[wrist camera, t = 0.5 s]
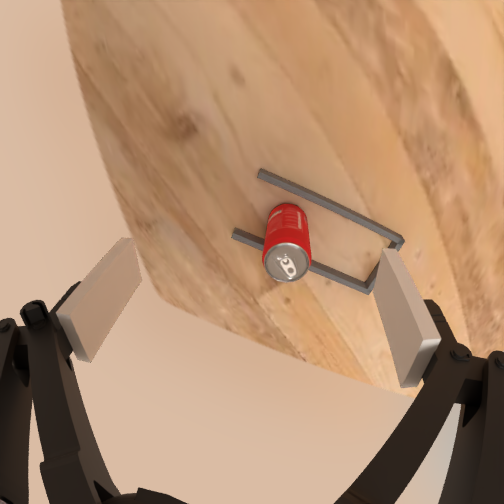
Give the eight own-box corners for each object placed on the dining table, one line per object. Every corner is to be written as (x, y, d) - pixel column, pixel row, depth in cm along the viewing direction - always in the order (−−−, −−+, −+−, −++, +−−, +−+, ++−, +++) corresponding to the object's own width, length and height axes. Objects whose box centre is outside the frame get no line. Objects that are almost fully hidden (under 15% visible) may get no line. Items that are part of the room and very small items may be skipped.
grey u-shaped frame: (233, 232, 45) (231, 237, 44) (260, 168, 41) (259, 171, 39) (366, 288, 47) (368, 295, 46) (401, 235, 43) (405, 241, 41)
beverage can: (296, 194, 42) (298, 232, 31) (312, 227, 44) (319, 273, 33) (261, 210, 43) (252, 252, 33) (279, 241, 45) (275, 291, 35)
